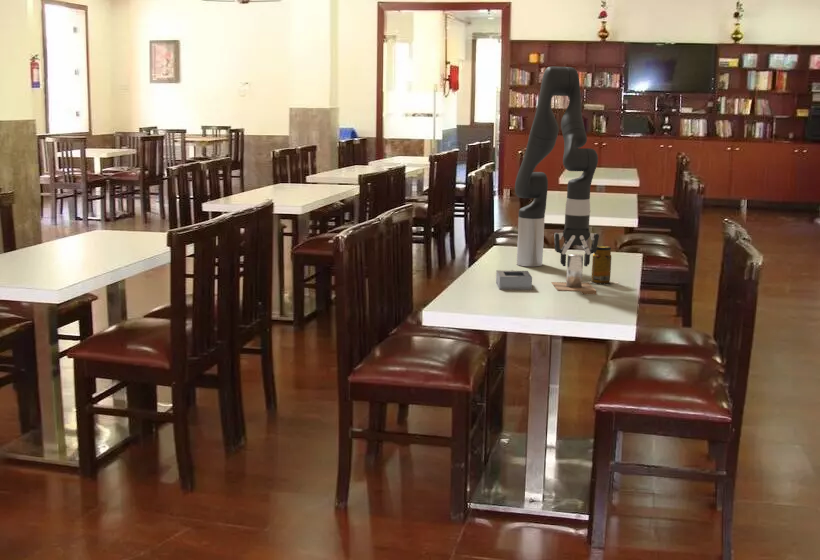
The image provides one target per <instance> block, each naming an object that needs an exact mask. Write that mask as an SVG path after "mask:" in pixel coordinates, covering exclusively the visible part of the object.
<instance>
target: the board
mask: <svg viewBox="0 0 820 560" xmlns="http://www.w3.org/2000/svg"><path fill="white" fill-rule="evenodd" d="M551 284H552V285H553V287H554V288H555V290H556V291H557V292H580V293H581V294H582V295H597V290H596V288H594V286H593V285H591V283H588V282H582V287H580V288H570V287H567V286H566V282H565V281H562V282H561V281H560V282H559V281H557V282H556V281H552V282H551Z"/></svg>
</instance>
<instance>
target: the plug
mask: <svg viewBox="0 0 820 560" xmlns="http://www.w3.org/2000/svg"><path fill="white" fill-rule="evenodd" d="M583 266H584V255H583V254H581V253H568V254H567V257H566V286H567V287H570V288H580V287H582V283H583V268H584V267H583Z"/></svg>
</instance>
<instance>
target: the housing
mask: <svg viewBox="0 0 820 560" xmlns="http://www.w3.org/2000/svg"><path fill="white" fill-rule="evenodd" d="M495 274H496V275H495V284H496V286H497V288H498V290H503V291H504V290H510V291H511V290H514V291H515V290H517V291H526V290H527V291H532V288H533V276H532V275H531V273H530V272H529V270H501V269H500V270H496V272H495Z"/></svg>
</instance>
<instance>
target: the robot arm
mask: <svg viewBox="0 0 820 560" xmlns="http://www.w3.org/2000/svg"><path fill="white" fill-rule="evenodd" d="M580 84H581V83H580V77H579V73H578V70H577V69H576V68H574V67H571V66H548V67H546V69H545V70H544V72H543V76H542V78H541V84H540V91H539V94H538V95H539V96H538V101H537V106H536V109H535V115H534V118H533V121H532V125H531V129H530V131H529V135H528V138H527V139H528V140H527V144H526V148H525V152H524V155H523V159H522V162H521V164H520V166H519V170H518V172H517V175H516V178H515V183H514V192H515V195H516V196H517V198H521V199H533V200H532V202H531V203H529V204H528V205H525V206H523V207H521V208H520V209H519V210H518V220H517V222H518V223H517V226H518V227H517V244H516V245H517V246H516V247H517V248H516V265H518V266H522V267H542V266H543V257H544V241H545V240H544V238H545V237H544V236H545V217H546V216H545V215H546V209H547V198H548V189H549V183H548V182H549V181H548V176H547V174H546V173H545V172H543V171H535V169H536V167H537V166H538V165H539V164H540V163H541V162H542V161H543V160H544V159H545V158H546V157H547V156H548V155H549V154H550V153H552V151H553V149H554V147H555V146H556V142H557V139H558V135H559V131H560V129H559V124H558V121H557V118H556V117H555V114H554V112H553V110H552V106H551V102H552V98H553V97H555V96H556V97H568V100H569V102H568V105H567V108H566V109H565V112H564V113H563V115H562V117H561V121H560V128H561V133H562V137H563V142H564V147H563V149H564V150H563V157H562V164H563V167H564V168H565V170H566V171H569V172H582V174H581V175H580V176H579V177H576V178H572V179H569V180H568V182H567V190H566V195H567V196H566V201H565V202H566V203H565V211H564V212H565V213H564V229H563V231H562V232H554V233H553V240H554V243H553V244H554V251H555V252H556V253H558V254H560V264H561V265H562V267H567V254H566V253H567V251H568V250H569V249H570V247H571V246H572V247H573V246H579V247H582V248H583V250H584V255H583V266H584V267H588V265H590V262H591V261H590V259H591V255H593V254H594V253H595V252H596V250H597V246H598V243H599V239H600V237H599V236H600V234H599V233H597V232H594V233H593V232H590V218H591V217H590V216H591V199H590V198H591V186H592V182H593V179H594V176H595V172H596V170H597V167H598V163H599V157H598V156H599V155H598V153H597V151H596V150H595V149H594V148H588V147H586V148H585V147H584V148H583V146H585V145H586V144H587V141H588V136H587V133H586V128H585V125H584V124H585V123H584V121H583V113H582V97H581V96H582V95H581V85H580ZM562 237H563V238H564V239H565V242H564V243H563V245H562V247H561V246H560V240H562ZM589 238H590V240H591V247H590V248H589V246H588V244H587V241H588V239H589Z"/></svg>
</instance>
